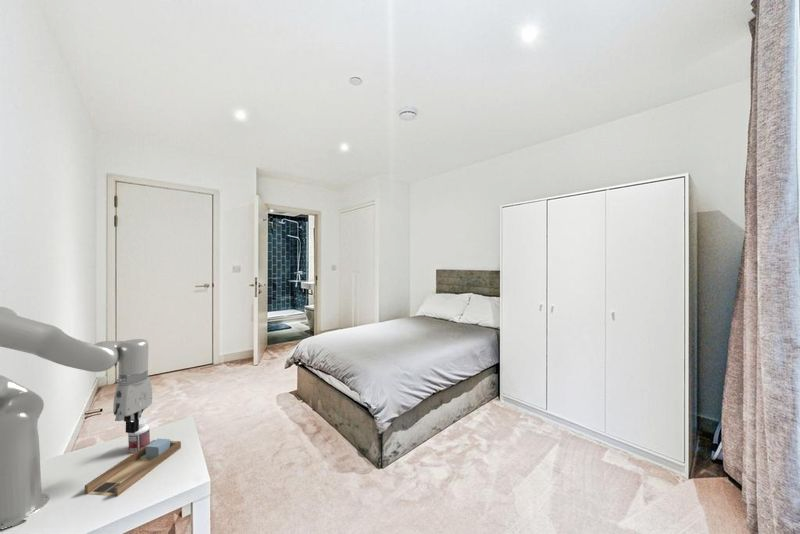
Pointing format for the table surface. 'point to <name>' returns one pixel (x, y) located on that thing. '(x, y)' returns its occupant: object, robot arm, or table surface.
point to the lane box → (128, 472)
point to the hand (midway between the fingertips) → (132, 431)
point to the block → (157, 447)
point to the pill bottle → (139, 437)
